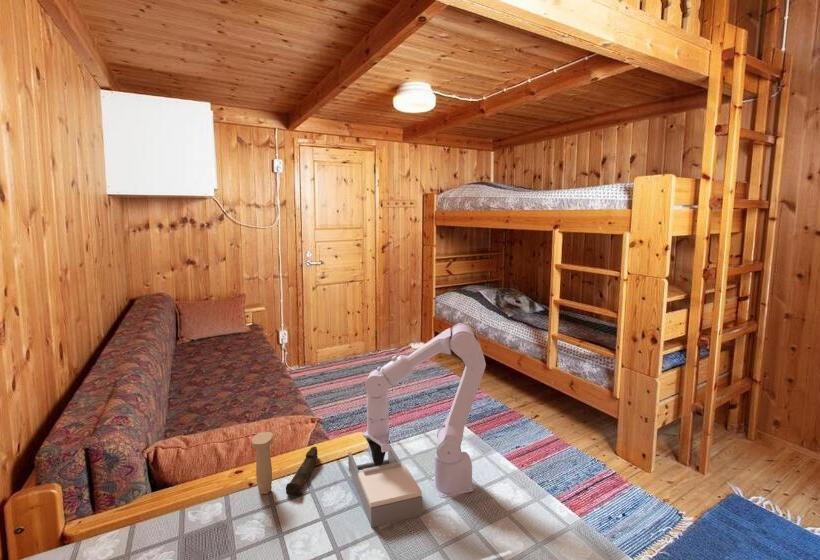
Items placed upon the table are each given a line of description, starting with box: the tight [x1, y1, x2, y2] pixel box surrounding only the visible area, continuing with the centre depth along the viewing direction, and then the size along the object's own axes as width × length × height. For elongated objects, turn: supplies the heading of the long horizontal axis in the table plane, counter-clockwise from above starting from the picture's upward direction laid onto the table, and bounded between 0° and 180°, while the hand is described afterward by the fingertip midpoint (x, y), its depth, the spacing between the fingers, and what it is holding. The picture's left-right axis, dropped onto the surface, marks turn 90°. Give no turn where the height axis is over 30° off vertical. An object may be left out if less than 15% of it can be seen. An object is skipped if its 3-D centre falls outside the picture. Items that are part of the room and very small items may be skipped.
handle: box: [251, 431, 274, 495], centre depth 111 cm, size 5×6×15 cm
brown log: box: [285, 446, 318, 498], centre depth 119 cm, size 19×4×5 cm, turn 172°
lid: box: [358, 462, 423, 508], centre depth 106 cm, size 13×13×2 cm
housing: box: [347, 444, 423, 529], centre depth 112 cm, size 13×26×5 cm, turn 20°
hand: (378, 463), depth 115 cm, fingers closed
